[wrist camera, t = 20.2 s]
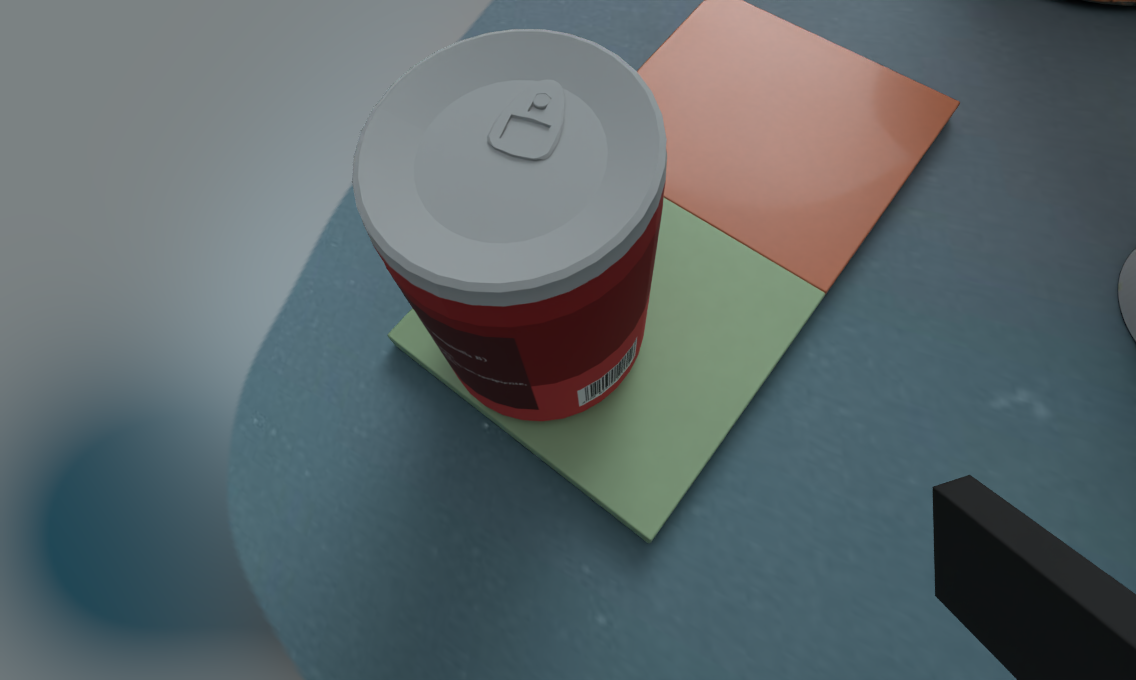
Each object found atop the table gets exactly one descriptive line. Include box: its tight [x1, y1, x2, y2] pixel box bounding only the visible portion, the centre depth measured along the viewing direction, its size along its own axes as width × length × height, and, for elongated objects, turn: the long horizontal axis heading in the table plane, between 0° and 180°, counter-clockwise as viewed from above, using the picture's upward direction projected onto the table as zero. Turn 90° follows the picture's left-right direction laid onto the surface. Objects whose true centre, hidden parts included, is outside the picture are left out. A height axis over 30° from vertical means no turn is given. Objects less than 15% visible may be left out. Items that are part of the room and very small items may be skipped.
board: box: [388, 0, 960, 543], centre depth 28 cm, size 24×13×1 cm, turn 142°
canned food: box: [352, 29, 667, 421], centre depth 20 cm, size 8×8×11 cm
